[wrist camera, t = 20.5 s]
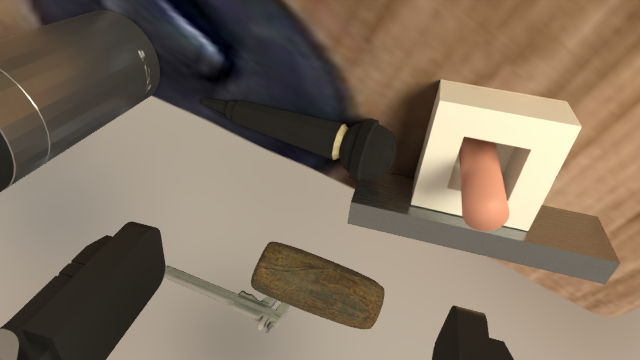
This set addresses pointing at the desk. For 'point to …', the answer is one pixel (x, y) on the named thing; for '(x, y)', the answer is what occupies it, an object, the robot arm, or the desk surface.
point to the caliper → (233, 299)
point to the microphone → (319, 135)
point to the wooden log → (318, 286)
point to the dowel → (482, 185)
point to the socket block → (511, 143)
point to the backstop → (503, 243)
